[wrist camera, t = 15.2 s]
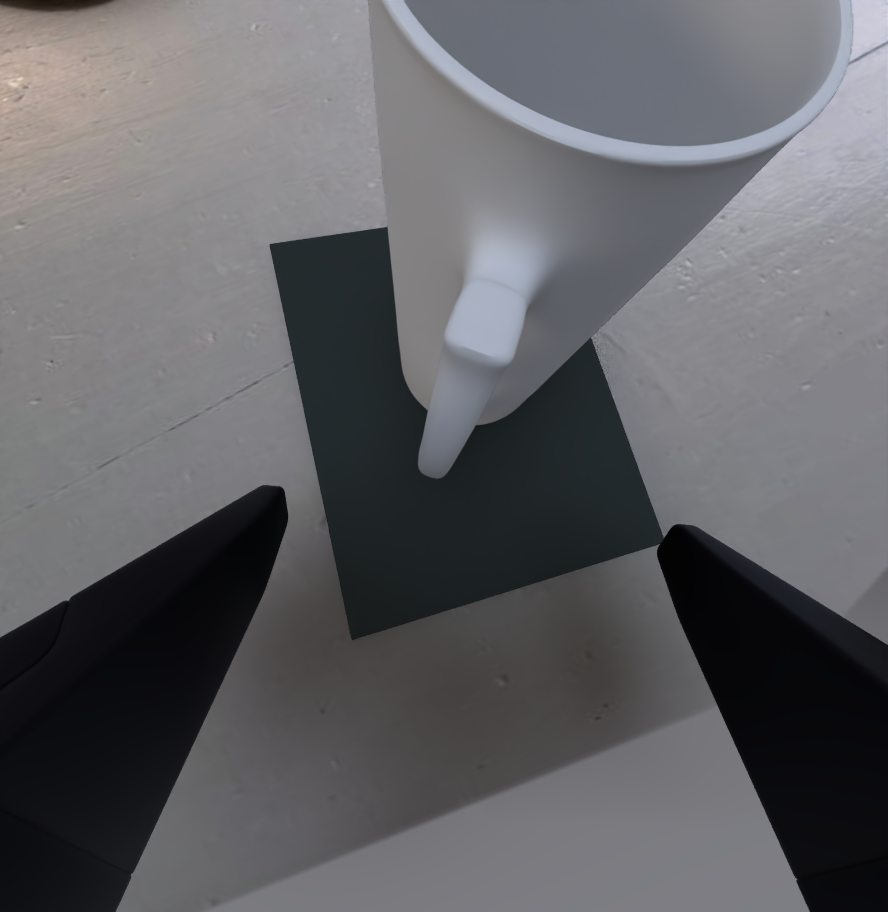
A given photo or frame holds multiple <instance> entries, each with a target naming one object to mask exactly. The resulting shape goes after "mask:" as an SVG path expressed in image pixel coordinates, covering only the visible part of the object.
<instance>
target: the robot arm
mask: <svg viewBox="0 0 888 912" xmlns="http://www.w3.org/2000/svg"><path fill="white" fill-rule="evenodd" d="M287 523H288V511H287V504H286V497H285V492H284V489H283V488H282V487H280V486H270V485H263V486H260V487H258V488H256V489H255V490H253V491H251V492H250V493H248V494H246V495H245V496H243V497H241V498H239V499H238V500H236V501H234V502H233V503H231V504H229V505H227V506H226V507H224V508H222V509H221V510H219V511H217V512H215V513H214V514H212V515H210V516H209V517H207V518H205V519H203V520H202V521H200V522H198V523H197V524H195V525H193V526H191V527H190V528H188V529H186V530H185V531H183V532H181V533H180V534H178V535H176V536H174V537H173V538H171V539H169V540H168V541H166V542H164V543H162V544H161V545H159V546H157V547H156V548H154V549H152V550H150V551H149V552H147V553H145V554H144V555H142V556H140V557H138V558H137V559H135V560H133V561H132V562H130V563H128V564H126V565H125V566H123V567H121V568H120V569H118V570H116V571H115V572H113V573H111V574H109V575H108V576H106V577H104V578H103V579H101V580H99V581H97V582H96V583H94V584H92V585H91V586H89V587H87V588H85V589H84V590H82V591H80V592H79V593H77V594H75V595H73V596H72V597H71V598H70V600H69V601H63V602H61V603H59V604H58V605H56V606H54V607H53V608H51V609H49V610H48V611H46V612H44V613H42V614H41V615H39V616H37V617H36V618H34V619H32V620H30V621H29V622H27V623H25V624H23V625H21V626H20V627H18V628H16V629H14V630H13V631H11V632H9V633H7V634H6V635H4V636H2V637H0V912H116V910H117V907H118V905H119V903H120V901H121V899H122V897H123V895H124V892H125V890H126V888H127V886H128V884H129V882H130V880H131V874H132V873H133V872H134V870H135V868H136V866H137V864H138V862H139V860H140V857H141V855H142V853H143V851H144V849H145V847H146V845H147V842H148V840H149V838H150V836H151V834H152V832H153V830H154V827H155V825H156V823H157V821H158V819H159V817H160V815H161V812H162V810H163V808H164V806H165V804H166V802H167V800H168V797H169V795H170V793H171V791H172V789H173V787H174V785H175V782H176V780H177V778H178V776H179V774H180V772H181V770H182V767H183V765H184V763H185V761H186V759H187V757H188V755H189V752H190V750H191V748H192V746H193V744H194V742H195V740H196V737H197V735H198V733H199V731H200V729H201V727H202V725H203V722H204V720H205V718H206V716H207V714H208V712H209V710H210V707H211V705H212V703H213V701H214V699H215V697H216V695H217V692H218V690H219V688H220V686H221V684H222V682H223V680H224V677H225V675H226V673H227V671H228V669H229V667H230V664H231V662H232V660H233V658H234V656H235V654H236V652H237V649H238V647H239V645H240V643H241V641H242V639H243V637H244V634H245V632H246V630H247V628H248V626H249V624H250V622H251V619H252V617H253V615H254V613H255V611H256V609H257V607H258V604H259V602H260V600H261V598H262V596H263V593H264V591H265V589H266V586H267V583H268V580H269V577H270V574H271V571H272V568H273V565H274V562H275V559H276V556H277V553H278V550H279V548H280V545H281V542H282V539H283V536H284V533H285V530H286V527H287ZM657 557H658V560H659V563H660V566H661V569H662V572H663V575H664V578H665V581H666V584H667V587H668V590H669V592H670V595H671V598H672V601H673V604H674V607H675V610H676V613H677V615H678V618H679V620H680V623H681V625H682V628H683V630H684V632H685V634H686V637H687V639H688V641H689V643H690V645H691V648H692V650H693V652H694V654H695V657H696V659H697V661H698V663H699V665H700V668H701V670H702V672H703V674H704V677H705V679H706V681H707V683H708V685H709V688H710V690H711V692H712V694H713V697H714V699H715V701H716V703H717V705H718V708H719V710H720V712H721V714H722V717H723V719H724V721H725V723H726V725H727V728H728V730H729V732H730V734H731V736H732V738H733V741H734V743H735V745H736V748H737V750H738V752H739V754H740V756H741V759H742V761H743V763H744V765H745V768H746V770H747V772H748V774H749V777H750V779H751V781H752V783H753V785H754V788H755V790H756V792H757V794H758V797H759V798H760V801H761V803H762V805H763V807H764V809H765V812H766V814H767V816H768V819H769V821H770V823H771V825H772V828H773V830H774V832H775V834H776V836H777V839H778V841H779V843H780V845H781V848H782V850H783V852H784V854H785V856H786V859H787V861H788V863H789V865H790V867H791V870H792V872H793V874H794V876H795V878H797V884H798V886H799V889H800V891H801V893H802V895H803V897H804V900H805V902H806V904H807V906H808V908H809V911H810V912H888V645H887V644H885V643H883V642H882V641H880V640H879V639H877V638H876V637H874V636H872V635H871V634H869V633H867V632H866V631H864V630H862V629H861V628H859V627H858V626H856V625H854V624H853V623H851V622H850V621H848V620H846V619H845V618H843V617H842V616H840V615H838V614H837V613H835V612H833V611H832V610H830V609H829V608H827V607H825V606H824V605H822V604H820V603H819V602H817V601H816V600H814V599H812V598H811V597H809V596H808V595H806V594H804V593H803V592H801V591H799V590H798V589H796V588H795V587H793V586H791V585H790V584H788V583H786V582H785V581H783V580H782V579H780V578H778V577H777V576H775V575H774V574H772V573H770V572H769V571H767V570H765V569H764V568H762V567H761V566H759V565H757V564H756V563H754V562H752V561H751V560H749V559H748V558H746V557H744V556H743V555H741V554H740V553H738V552H736V551H735V550H733V549H731V548H730V547H728V546H727V545H725V544H723V543H722V542H720V541H718V540H717V539H715V538H714V537H712V536H710V535H709V534H707V533H706V532H704V531H702V530H701V529H699V528H697V527H695V526H692V525H683V524H676V525H674V526H673V527H672V528H671V529H670V530H669V532H668V533H667V535H666V536H665V538H664V539H663V541H662V542H661V544H660V545H659V547H658V550H657Z"/></svg>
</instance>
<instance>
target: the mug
mask: <svg viewBox="0 0 888 912" xmlns="http://www.w3.org/2000/svg"><path fill="white" fill-rule="evenodd" d="M368 8H369V21H370V35H371V49H372V63H373V77H374V91H375V103H376V114H377V125H378V136H379V146H380V156H381V167H382V177H383V186H384V196H385V206H386V216H387V226H388V236H389V246H390V256H391V266H392V276H393V286H394V296H395V307H396V317H397V329H398V340H399V347H400V355H401V365H402V370H403V375H404V378H405V381H406V383H407V385H408V387H409V389H410V391H411V392H412V394H413V395H414V397H415V398H416V399H417V400H418V402H419V403H420V404H421V405H422V406H423V407H424V408H426V409H427V410H428V413H427V418H426V423H425V428H424V433H423V438H422V442H421V446H420V450H419V458H418V467H419V470H420V471H421V473H423V474H424V475H426V476H428V477H431V478H437V479H438V478H442V477H443V476H445V475H446V474H447V473H448V471H449V470H450V468H451V466H452V465H453V463H454V462H455V460H456V458H457V457H458V455H459V453H460V452H461V450H462V448H463V446H464V445H465V443H466V441H467V440H468V438H469V436H470V434H471V433H472V431H473V429H474V427H475V426H476V425H483V424H488V423H492V422H495V421H497V420H500V419H502V418H504V417H506V416H507V415H509V414H510V413H512V412H513V411H514V410H515V409H517V408H518V407H519V406H520V405H521V404H522V403H523V402H524V401H525V400H526V399H527V398H528V397H529V396H530V395H532V394H533V393H534V392H535V391H536V390H537V389H538V388H539V387H540V386H541V385H542V384H543V383H544V382H545V381H546V380H547V379H548V378H549V377H550V376H551V375H552V374H553V373H554V372H555V371H556V370H558V369H559V368H560V367H561V366H562V365H563V364H564V363H565V362H566V361H567V360H568V359H569V358H570V357H571V356H572V355H573V354H574V353H575V352H576V351H577V350H578V349H579V348H580V347H581V346H582V345H583V344H584V343H585V342H586V341H587V340H589V339H590V338H591V337H592V336H593V335H594V334H595V333H596V332H597V331H598V330H599V329H600V328H601V327H602V326H603V325H604V324H605V323H606V322H607V321H608V320H609V319H610V318H611V317H612V316H613V315H615V314H616V313H617V312H618V311H619V310H620V309H621V308H622V307H623V306H624V305H625V304H626V303H627V302H628V301H629V300H630V299H631V298H632V297H633V296H634V295H635V294H636V293H637V292H638V291H639V290H641V289H642V288H643V287H644V286H645V285H646V284H647V283H648V282H649V281H650V280H651V279H652V278H653V277H654V276H655V275H656V274H657V273H658V272H659V271H660V270H661V269H662V268H663V267H664V266H665V265H666V264H667V263H669V262H670V261H671V260H672V259H673V258H674V257H675V256H676V255H677V254H678V253H679V252H680V251H681V250H682V249H683V248H684V247H685V246H686V245H687V244H688V243H689V242H690V241H691V240H692V239H693V238H694V237H695V236H696V235H697V234H698V233H699V232H700V231H701V230H702V229H703V228H704V227H705V226H706V225H707V224H708V223H709V222H710V221H711V220H712V219H713V218H714V217H715V216H716V215H717V214H718V213H719V212H720V211H721V210H722V209H723V208H724V207H725V206H726V205H727V203H728V202H729V201H730V200H731V199H732V198H733V197H734V196H735V195H736V194H737V193H738V192H739V191H740V190H741V189H742V188H743V187H744V186H745V185H746V184H747V183H748V182H749V181H750V180H751V179H752V178H753V177H754V176H755V175H756V174H757V173H758V172H759V171H760V170H761V169H762V168H763V167H764V166H765V165H766V164H767V163H768V162H769V161H770V160H771V159H772V158H773V157H774V156H775V155H776V154H777V153H778V152H779V151H780V150H781V149H782V148H783V147H784V146H785V145H786V144H787V143H788V142H789V141H790V140H791V139H792V138H793V137H794V136H795V135H796V134H798V133H799V132H800V131H802V130H803V129H804V128H805V127H807V126H808V125H809V124H810V123H811V122H812V121H813V120H814V119H815V118H816V117H817V116H818V115H819V114H820V113H821V112H822V111H823V109H824V108H825V107H826V106H827V105H828V103H829V102H830V101H831V99H832V98H833V96H834V95H835V93H836V91H837V90H838V88H839V86H840V84H841V82H842V80H843V78H844V75H845V72H846V70H847V66H848V63H849V59H850V55H851V51H852V44H853V12H852V5H851V0H368Z"/></svg>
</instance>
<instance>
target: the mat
mask: <svg viewBox="0 0 888 912" xmlns="http://www.w3.org/2000/svg"><path fill="white" fill-rule="evenodd" d="M270 249H271V254H272V259H273V264H274V268H275V273H276V278H277V283H278V288H279V292H280V297H281V302H282V307H283V312H284V316H285V321H286V326H287V331H288V336H289V340H290V345H291V350H292V355H293V360H294V364H295V369H296V374H297V379H298V384H299V389H300V393H301V398H302V403H303V408H304V413H305V417H306V422H307V427H308V432H309V437H310V441H311V446H312V451H313V456H314V461H315V465H316V470H317V475H318V480H319V485H320V489H321V494H322V499H323V504H324V509H325V513H326V518H327V523H328V528H329V533H330V538H331V542H332V547H333V552H334V557H335V562H336V566H337V571H338V576H339V581H340V586H341V590H342V595H343V600H344V605H345V610H346V614H347V619H348V624H349V629H350V634H351V638H352V640H354V639H357V638H360V637H363V636H366V635H370V634H373V633H376V632H379V631H382V630H386V629H389V628H392V627H395V626H399V625H402V624H405V623H408V622H411V621H415V620H418V619H421V618H424V617H427V616H431V615H434V614H437V613H440V612H443V611H447V610H450V609H453V608H456V607H459V606H463V605H466V604H469V603H472V602H475V601H479V600H482V599H485V598H488V597H491V596H495V595H498V594H501V593H504V592H507V591H511V590H514V589H517V588H520V587H523V586H527V585H530V584H533V583H536V582H539V581H543V580H546V579H549V578H552V577H555V576H559V575H562V574H565V573H568V572H572V571H575V570H578V569H581V568H584V567H588V566H591V565H594V564H597V563H600V562H604V561H607V560H610V559H613V558H616V557H620V556H623V555H626V554H629V553H632V552H636V551H639V550H642V549H645V548H648V547H652V546H655V545H658V544H661V542H662V541H663V539H664V538H663V535H662V532H661V529H660V527H659V524H658V521H657V518H656V516H655V513H654V510H653V507H652V505H651V502H650V499H649V496H648V494H647V491H646V488H645V485H644V483H643V480H642V477H641V474H640V472H639V469H638V466H637V463H636V461H635V458H634V455H633V452H632V449H631V447H630V444H629V441H628V438H627V436H626V433H625V430H624V427H623V425H622V422H621V419H620V416H619V414H618V411H617V408H616V405H615V403H614V400H613V397H612V394H611V392H610V389H609V386H608V383H607V381H606V378H605V375H604V372H603V370H602V367H601V364H600V361H599V359H598V356H597V353H596V350H595V347H594V345H593V342H592V339H591V338H590V339H589V340H587V341H586V342H585V343H584V344H583V345H582V346H581V347H580V348H579V349H578V350H577V351H576V352H575V353H574V354H573V355H572V356H571V357H570V358H569V359H568V360H567V361H566V362H565V363H564V364H563V365H562V366H561V367H560V368H559V369H558V370H556V371H555V372H554V373H553V374H552V375H551V376H550V377H549V378H548V379H547V380H546V381H545V382H544V383H543V384H542V385H541V386H540V387H539V388H538V389H537V390H536V391H535V392H534V393H533V394H532V395H530V396H529V397H528V398H527V399H526V400H525V401H524V402H523V403H522V404H521V405H520V406H519V407H518V408H517V409H515V410H514V411H513V412H512V413H510V414H509V415H507V416H506V417H504V418H502V419H500V420H497V421H495V422H492V423H488V424H483V425H476V426H475V427H474V429H473V431H472V433H471V434H470V436H469V438H468V440H467V441H466V443H465V445H464V446H463V448H462V450H461V452H460V453H459V455H458V457H457V458H456V460H455V462H454V463H453V465H452V466H451V468H450V470H449V471H448V473H447V474H446V475H445V476H443V477H442V478H438V479H437V478H431V477H428V476H426V475H424V474H423V473H421V471H420V470H419V467H418V458H419V450H420V446H421V442H422V438H423V433H424V428H425V423H426V418H427V413H428V410H427V409H426V408H424V407H423V406H422V405H421V404H420V403H419V402H418V400H417V399H416V398H415V397H414V395H413V394H412V392H411V391H410V389H409V387H408V385H407V383H406V381H405V378H404V375H403V370H402V365H401V355H400V347H399V340H398V329H397V317H396V307H395V296H394V286H393V276H392V266H391V256H390V246H389V236H388V227H385V228H378V229H371V230H364V231H357V232H350V233H343V234H336V235H330V236H323V237H316V238H309V239H302V240H295V241H288V242H281V243H274V244H270Z"/></svg>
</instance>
